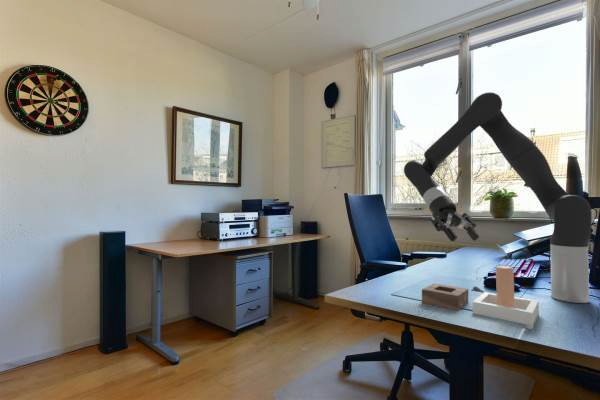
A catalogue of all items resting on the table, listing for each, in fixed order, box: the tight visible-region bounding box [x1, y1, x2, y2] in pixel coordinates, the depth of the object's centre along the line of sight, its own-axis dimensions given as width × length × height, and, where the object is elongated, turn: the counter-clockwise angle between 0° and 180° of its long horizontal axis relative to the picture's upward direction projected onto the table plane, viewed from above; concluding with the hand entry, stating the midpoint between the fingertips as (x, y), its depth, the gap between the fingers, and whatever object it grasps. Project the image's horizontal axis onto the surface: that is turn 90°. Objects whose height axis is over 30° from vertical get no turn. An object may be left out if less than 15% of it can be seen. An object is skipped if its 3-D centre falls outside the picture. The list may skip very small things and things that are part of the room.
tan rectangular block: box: [495, 265, 515, 308], centre depth 85 cm, size 4×4×12 cm
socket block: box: [421, 282, 469, 312], centre depth 94 cm, size 10×10×5 cm
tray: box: [472, 291, 540, 330], centre depth 85 cm, size 13×13×4 cm
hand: (465, 239), depth 97 cm, fingers open, 8 cm apart
